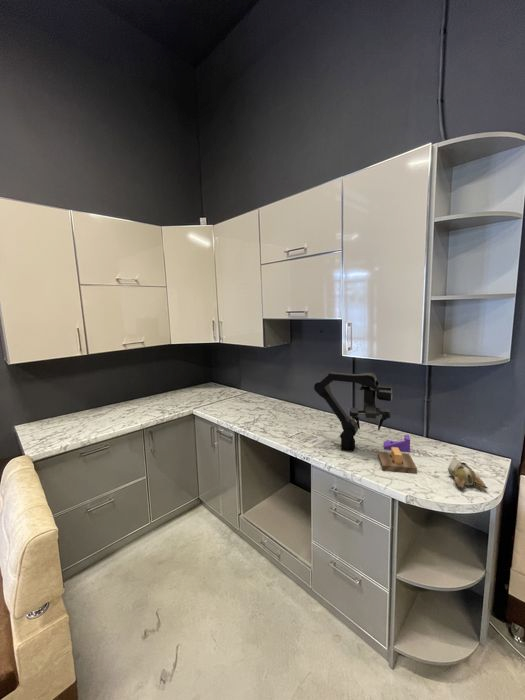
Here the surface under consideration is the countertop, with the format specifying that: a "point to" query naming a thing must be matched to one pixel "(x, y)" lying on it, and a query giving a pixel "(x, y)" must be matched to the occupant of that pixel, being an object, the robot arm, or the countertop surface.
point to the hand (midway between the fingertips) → (368, 429)
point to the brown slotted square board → (389, 464)
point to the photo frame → (310, 443)
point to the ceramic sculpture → (464, 474)
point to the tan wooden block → (396, 455)
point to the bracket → (399, 444)
